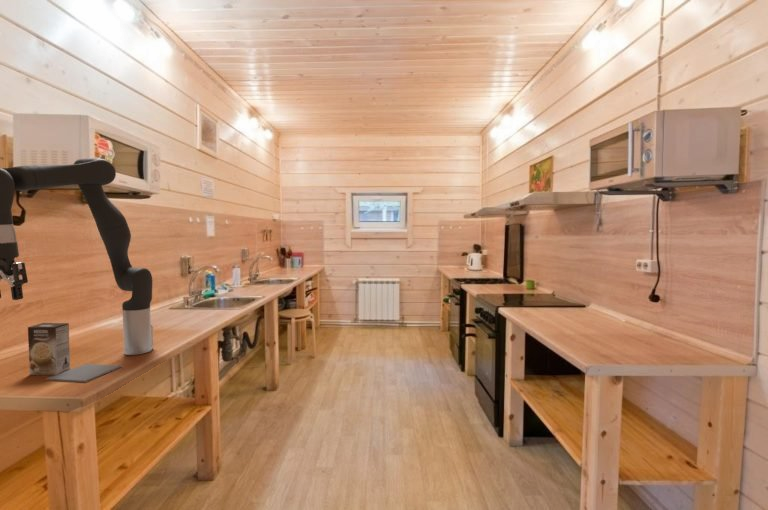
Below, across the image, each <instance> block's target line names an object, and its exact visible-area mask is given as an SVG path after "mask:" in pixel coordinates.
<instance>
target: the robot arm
mask: <svg viewBox="0 0 768 510" xmlns="http://www.w3.org/2000/svg"><path fill="white" fill-rule="evenodd" d="M116 173H117V171H116V169H115V166H114V164H112V162H110V161H108V160H106V159H104V158H99V157H97V158H96V157H95V158H91V157H90V158H80V159H77V160H75V161H74V162H73V163H72V164H34V165H19V166H13V167H6V168H5V167H4V168H3V167H0V282H1V280H3V281H5V282H7V283H8V284H9V286H10V293H11V299H12V301H19V300H22V299H24V294H23V285H25V284H27V283H28V282H29V280H28V275H27V270H26V269H27V268H26V264H25V262H24V261H17V262H16V260H15V258H18V257H20V251H19V244H18V239H17V232H16V228H15V226H14V225H15V224H14V220H13V219H14V218H13V212H12V207H13V203H14V198H15V191H32V190H33V191H34V190H42V189H49V188H56V187H63V186H70V185H77V186H78V188H79V189H80V192H81V193H82V196H83V197H84V199H85V201H86V203H87V205H88V207H89V210H90V213H91V214H92V218H93V219H94V221H95V222H94V223H95V224H96V227H97V230H98V233H99V235H100V238H101V240H102V242H103V245H104V247H105V251H106V253H107V255H108V259H109V263H110V264H111V269H112V273H113V278H114V280H115V283H116V286H117V287H118V288H119V289H120V290H122V291H124V292H131V297H130V298H129V299H128V300H125V301H123V302H122V305H121V307H122V309H121V310H122V331H123V332H122V333H123V334H122V336H123V354H124V355H127V356H137V355H142V354H146V353H149V352H151V351H152V350H153V349H154V332H153V328H154V327H153V325H151V324H152V322H151V321H152V320H151V319H152V318H151V303H152V299H153V276H152V273H151V271H150V270H149V269H148V268H145V267H133V266H132V264H131V261H130V258H129V254H128V251H129V247H130V243H131V240H132V234H131V231H130V227H129V225H128V222H127V219H126V217H125V215H123V213H122V212H121V211H120V210H119V208H117V206H115V204H114V203H113V202H112V201H110V199H109V198H108V197H107V194H106V193H105V191H104V190H105V189H104V188H103V186H105V185H106V186H107V185H109V184H111V183H113V182H114V180H115V179H116V176H117V174H116ZM1 298H2V292H1V290H0V299H1Z"/></svg>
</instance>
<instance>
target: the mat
mask: <svg viewBox="0 0 768 510" xmlns="http://www.w3.org/2000/svg"><path fill="white" fill-rule="evenodd" d="M121 368H122V365H114V364H113V365H111V364H96V363H94V364H93V363H84V364H82V365H79V366H77V367H74V368H70V369H68V370H66V371H63V372H61V373H59V374H57V375H52V376H49V377H46V381H50V382H51V381H53V382H68V383H70V382H71V383H84V382H86V383H87V382H90V381H93V380H95V379H97V377H98V378H99V377H102V376H104V374H105V375H107V374H109V373H111V371H112V372H113V371H114V372H115V371H116V370H119V369H121ZM106 373H107V374H106Z"/></svg>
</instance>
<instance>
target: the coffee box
mask: <svg viewBox="0 0 768 510" xmlns="http://www.w3.org/2000/svg"><path fill="white" fill-rule="evenodd" d="M69 324H70V323H69V322H42V323H38V324H35V325H31V326H28V327H27V336H28V339H27V340H28V343H27V344H28V360H29V361H28V362H29V375H36V376H37V375H38V376H39V375H45V376H46V375H52V376H54V375H57V374H60V373H63V372H65V371H68V370H71V357H70V356H71V355H70V331H69V330H70V327H69V326H70V325H69Z"/></svg>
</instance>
